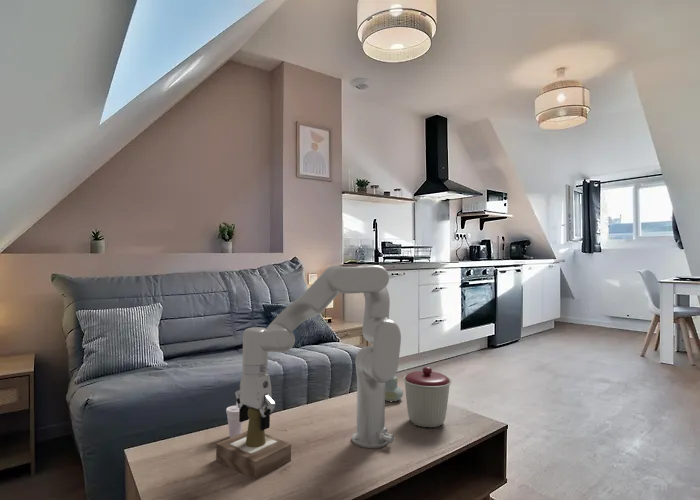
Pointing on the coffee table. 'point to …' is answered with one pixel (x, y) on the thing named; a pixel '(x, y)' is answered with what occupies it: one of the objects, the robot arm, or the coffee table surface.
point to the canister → (427, 397)
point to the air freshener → (393, 390)
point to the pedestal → (253, 455)
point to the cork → (255, 429)
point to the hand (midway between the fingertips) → (254, 424)
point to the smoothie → (234, 420)
